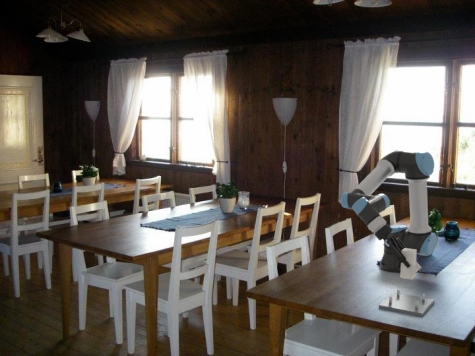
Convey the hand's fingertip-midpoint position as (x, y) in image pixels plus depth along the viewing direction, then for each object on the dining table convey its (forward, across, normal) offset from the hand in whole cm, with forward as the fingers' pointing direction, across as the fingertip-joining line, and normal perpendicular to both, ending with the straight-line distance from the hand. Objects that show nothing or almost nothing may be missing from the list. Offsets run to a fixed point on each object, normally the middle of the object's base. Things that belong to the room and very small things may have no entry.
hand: (417, 271), depth 228 cm
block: (0, 0, -5) cm, 5 cm away
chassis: (+9, 0, -14) cm, 16 cm away
